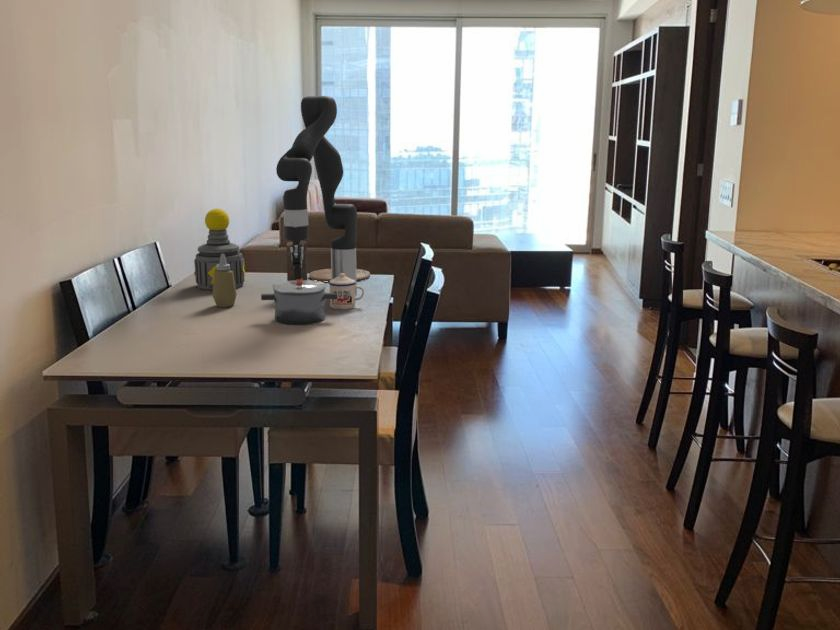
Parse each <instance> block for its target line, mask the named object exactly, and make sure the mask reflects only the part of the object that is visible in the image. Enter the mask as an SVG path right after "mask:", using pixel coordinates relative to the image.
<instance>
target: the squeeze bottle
mask: <svg viewBox="0 0 840 630" xmlns="http://www.w3.org/2000/svg"><path fill="white" fill-rule="evenodd" d="M216 270H217V271H215V272H214V280H213V290H212V298H213V300H214V303H215V306H217V307H220V308H229V307H232V306H234V305H235V302H236V299H237V288H236V287H235V280H234V274H233V271H231V270H230V264H227V262H226V258H225V254H221V257H220V263H219V264H217V265H216Z"/></svg>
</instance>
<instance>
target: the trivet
mask: <svg viewBox="0 0 840 630" xmlns="http://www.w3.org/2000/svg"><path fill="white" fill-rule="evenodd" d="M356 273H357V282H361V281H360V280H363V281H366V280H368V279H369V277H370V278H371V272H370V271H368V270H366V269H359V268H356ZM308 275H309V277H308V278H309V279H310V278H311V279H313V280H312V281H314V280H317V281H328V282H330V280H332V275H331V268H324V269H317V270H313V271H311V272H309V274H308ZM311 279H310V280H311ZM365 279H366V280H365ZM328 282H327V283H328Z"/></svg>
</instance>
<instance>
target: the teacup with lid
mask: <svg viewBox="0 0 840 630" xmlns="http://www.w3.org/2000/svg"><path fill="white" fill-rule="evenodd" d="M355 283H356V282H355V280H353V279H350V278H348V277H346V276H345V274H344V273H341V274H339V277H336V278H335V279H333V280H330V282H329V283H328V285H329V293H337V299H329V301H330V302H329V306H330V308H331V309H333V310H339V309H340V310H351V309H354V308H355V307H356V301H360V300H361V299H363V297H364V295H365V289H364V288H363V287H362V286H360V285H357V286H355ZM355 288H357V289H360V290H361V292H362V293H361V295H360V296H359V297H356V294H355Z"/></svg>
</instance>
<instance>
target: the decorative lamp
mask: <svg viewBox="0 0 840 630" xmlns="http://www.w3.org/2000/svg"><path fill="white" fill-rule="evenodd" d="M229 217H230V216H229V215H228V213H227V212H226V211H225V210H223V209H221V208H213V209H210V210H209V211H207V213H206V215H205V217H204V224H205V226H206V228H207V229H208V234H207V240H206V243H203V244H201V245H199V246H198V247H197V252H198V253H196V255H195V258H194V261H193V263H194V272H193V275H194V277H195V283H196V285H197V287H198V288H199V289H201V290H204V291H205V290H206V291H213V280H214V272H215V271H217V270H216V265H217V264H219V263H220V257H221V254H225V258H226V262H227V264H230V270H231V271H233V274H234V280H235V287H236V289H238V288H239V289H240V288H241V287H242V286H244V283H245V281H246V280H245V277H246V270H245V258H244V257H243V253H242V252H240V245H238V244H236V243H233V242H231V241H230V239H229V235H228V234H227V233H228V231H227V229H228V227H229V224H230V218H229Z"/></svg>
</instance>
